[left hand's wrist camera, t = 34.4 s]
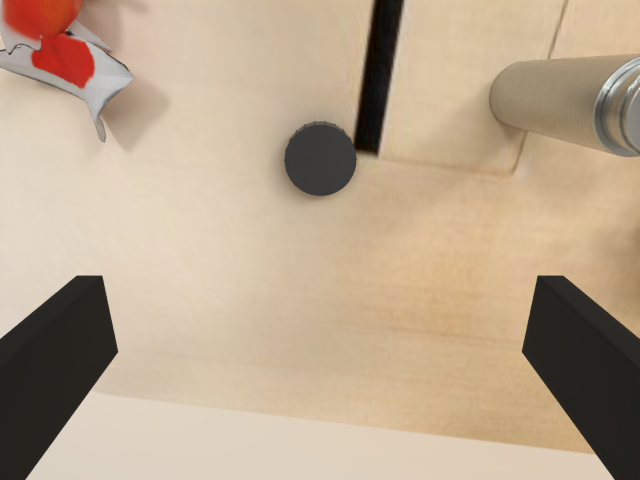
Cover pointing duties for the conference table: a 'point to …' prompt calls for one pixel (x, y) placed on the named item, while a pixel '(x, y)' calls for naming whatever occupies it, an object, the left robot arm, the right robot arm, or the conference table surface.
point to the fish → (60, 52)
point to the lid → (320, 158)
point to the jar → (574, 100)
